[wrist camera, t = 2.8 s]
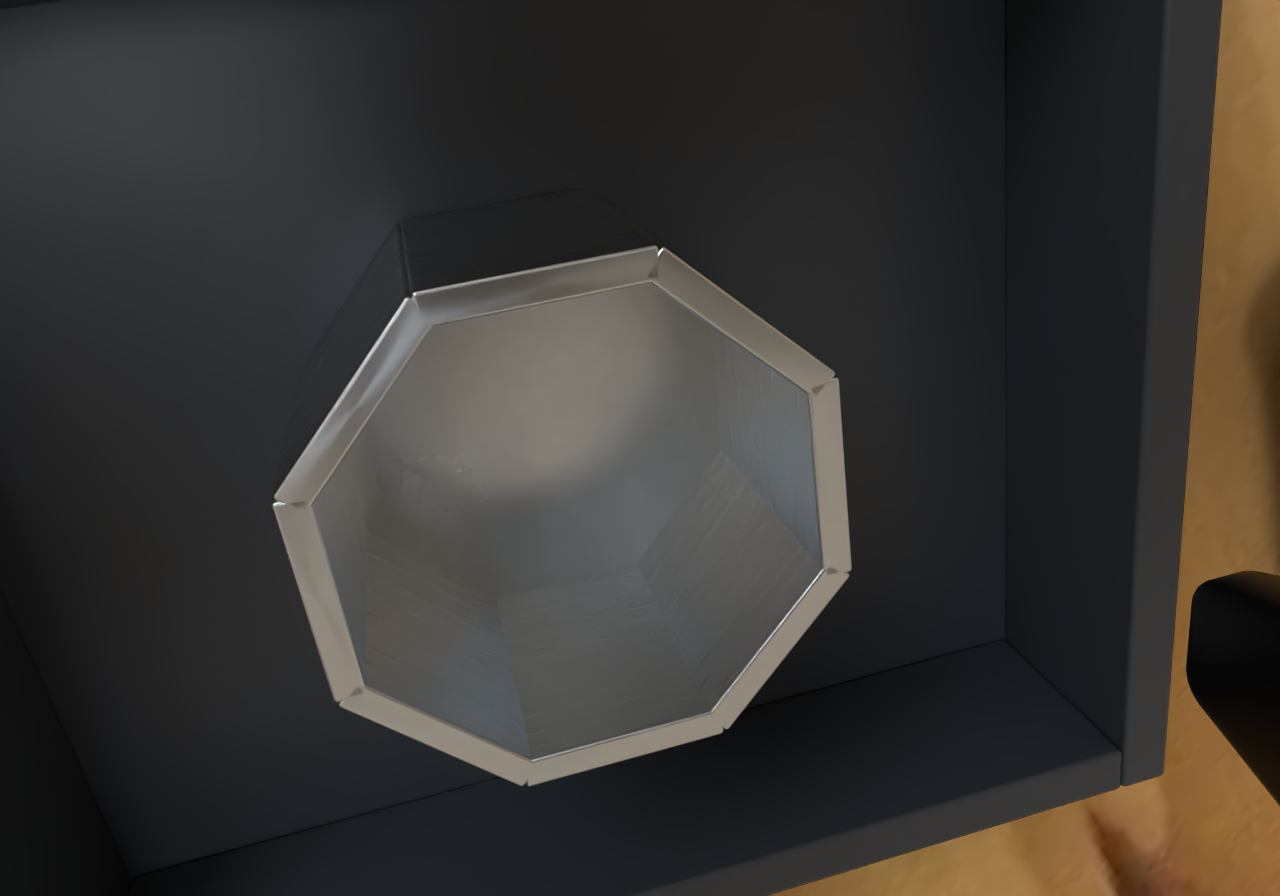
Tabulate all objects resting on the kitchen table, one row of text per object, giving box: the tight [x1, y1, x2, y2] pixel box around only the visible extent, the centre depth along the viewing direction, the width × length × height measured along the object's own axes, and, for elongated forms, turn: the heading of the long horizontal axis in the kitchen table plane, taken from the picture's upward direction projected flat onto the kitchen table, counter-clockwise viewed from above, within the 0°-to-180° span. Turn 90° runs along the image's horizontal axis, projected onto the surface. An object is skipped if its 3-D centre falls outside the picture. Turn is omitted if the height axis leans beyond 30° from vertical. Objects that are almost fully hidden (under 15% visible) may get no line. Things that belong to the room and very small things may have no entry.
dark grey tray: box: [0, 0, 1222, 896], centre depth 15 cm, size 18×15×4 cm
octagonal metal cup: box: [272, 188, 852, 786], centre depth 14 cm, size 6×6×4 cm
